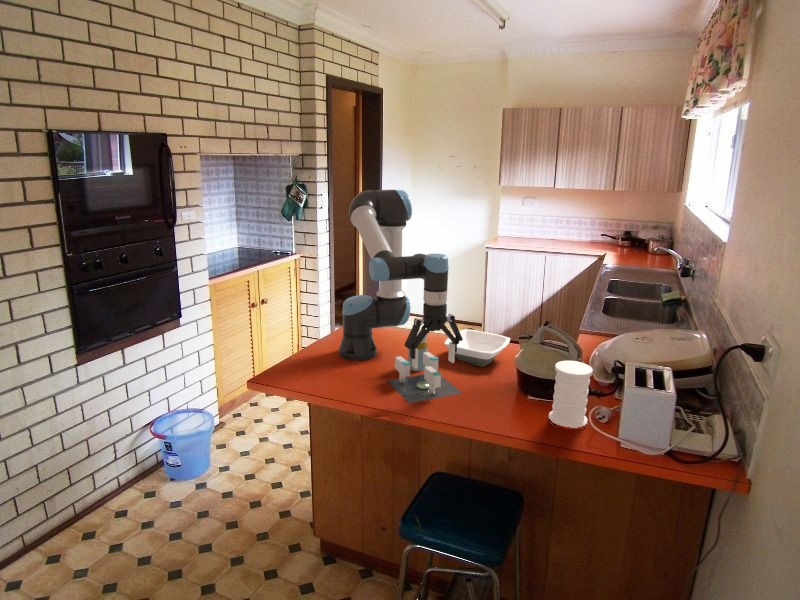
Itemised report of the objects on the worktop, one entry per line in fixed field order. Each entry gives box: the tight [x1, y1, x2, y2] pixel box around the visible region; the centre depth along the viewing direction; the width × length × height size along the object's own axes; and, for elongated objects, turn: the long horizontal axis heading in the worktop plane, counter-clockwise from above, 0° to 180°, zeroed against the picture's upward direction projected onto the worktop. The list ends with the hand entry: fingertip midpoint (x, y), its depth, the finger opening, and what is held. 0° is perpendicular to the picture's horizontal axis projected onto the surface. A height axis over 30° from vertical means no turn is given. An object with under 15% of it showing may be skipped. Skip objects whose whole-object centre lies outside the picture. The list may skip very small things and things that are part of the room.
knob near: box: [394, 355, 411, 383], centre depth 193 cm, size 8×2×8 cm, turn 25°
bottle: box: [407, 329, 429, 372], centre depth 206 cm, size 7×7×15 cm
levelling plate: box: [386, 373, 463, 404], centre depth 192 cm, size 19×20×2 cm
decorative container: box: [548, 360, 594, 428], centre depth 170 cm, size 12×12×18 cm
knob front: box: [423, 366, 442, 394], centre depth 185 cm, size 8×2×8 cm, turn 25°
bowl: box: [443, 328, 511, 368], centre depth 217 cm, size 22×23×8 cm
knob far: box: [423, 351, 440, 371], centre depth 198 cm, size 8×2×8 cm, turn 25°
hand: (433, 364), depth 183 cm, fingers open, 13 cm apart
